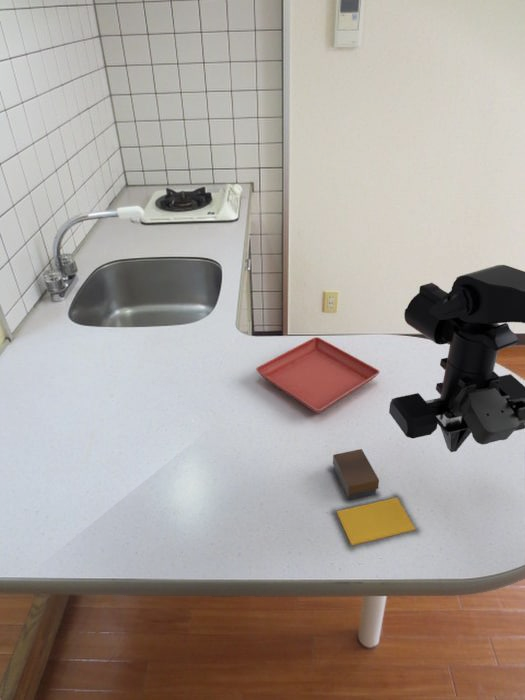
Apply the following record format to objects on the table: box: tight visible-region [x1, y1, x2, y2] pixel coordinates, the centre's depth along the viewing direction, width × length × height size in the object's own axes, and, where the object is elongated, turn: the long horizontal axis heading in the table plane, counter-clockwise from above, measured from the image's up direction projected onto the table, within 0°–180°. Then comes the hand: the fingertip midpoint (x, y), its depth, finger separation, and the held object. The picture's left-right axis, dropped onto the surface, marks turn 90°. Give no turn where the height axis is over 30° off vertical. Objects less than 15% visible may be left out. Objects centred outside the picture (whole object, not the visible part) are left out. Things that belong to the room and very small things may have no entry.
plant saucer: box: [255, 336, 380, 414], centre depth 106 cm, size 18×18×3 cm
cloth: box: [336, 497, 416, 546], centre depth 79 cm, size 10×6×1 cm, turn 104°
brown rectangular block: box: [332, 448, 380, 501], centre depth 84 cm, size 7×5×4 cm
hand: (451, 449), depth 76 cm, fingers closed
